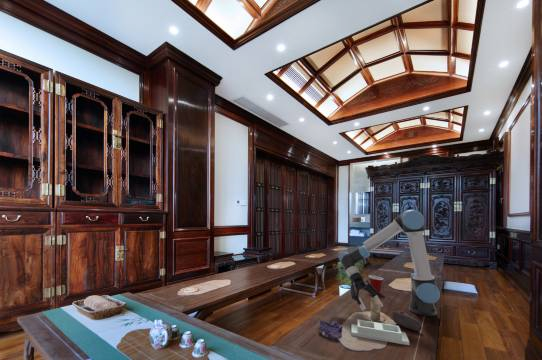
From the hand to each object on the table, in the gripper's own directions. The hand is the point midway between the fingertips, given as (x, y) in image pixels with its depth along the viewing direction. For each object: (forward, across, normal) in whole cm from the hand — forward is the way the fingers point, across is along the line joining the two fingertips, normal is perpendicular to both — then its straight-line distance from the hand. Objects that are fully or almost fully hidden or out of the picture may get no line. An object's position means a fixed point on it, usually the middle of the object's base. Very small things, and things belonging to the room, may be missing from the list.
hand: (373, 308), depth 147 cm
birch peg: (+6, -1, -4) cm, 7 cm away
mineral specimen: (+7, +33, -3) cm, 34 cm away
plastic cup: (-22, -44, -32) cm, 58 cm away
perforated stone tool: (+14, -11, +5) cm, 19 cm away
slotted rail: (+15, +12, +5) cm, 20 cm away
